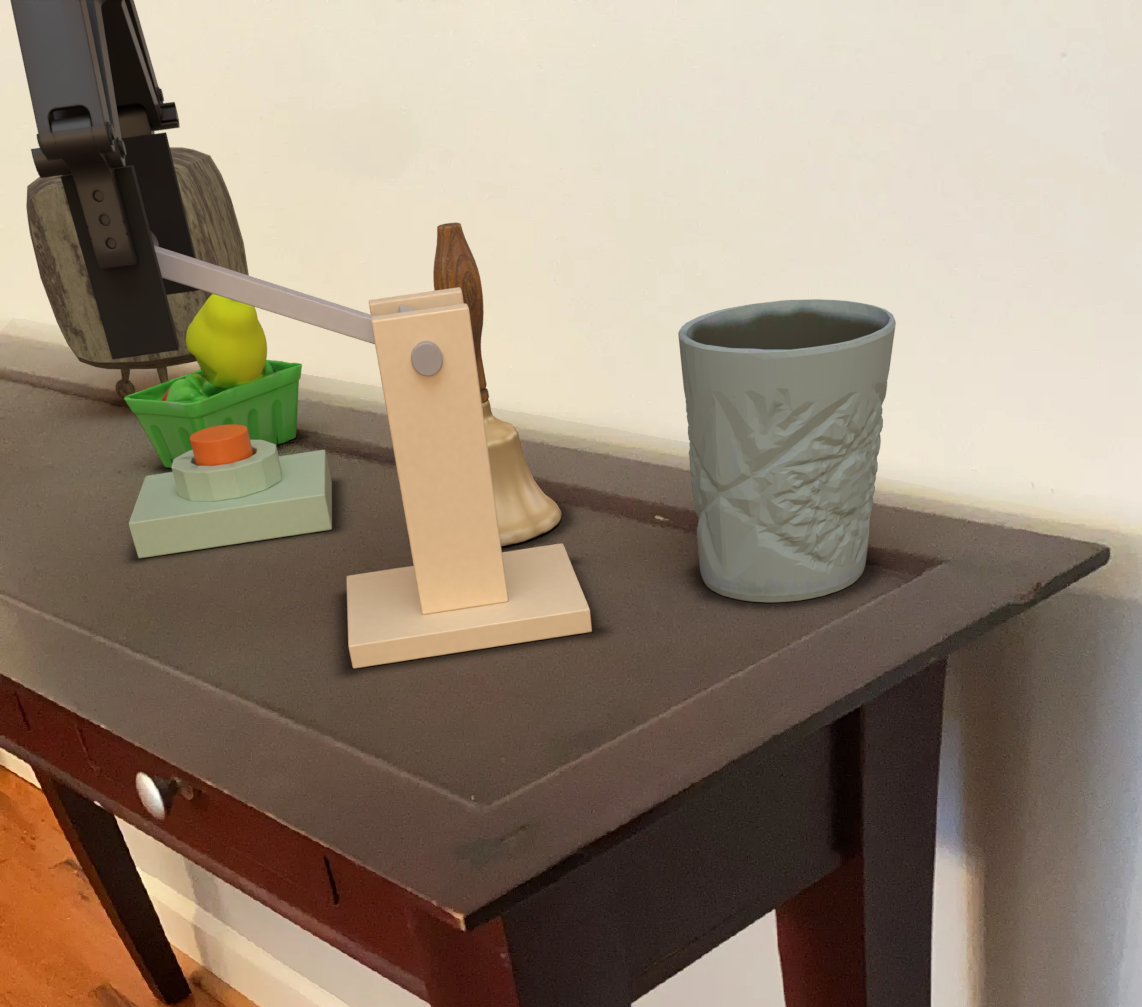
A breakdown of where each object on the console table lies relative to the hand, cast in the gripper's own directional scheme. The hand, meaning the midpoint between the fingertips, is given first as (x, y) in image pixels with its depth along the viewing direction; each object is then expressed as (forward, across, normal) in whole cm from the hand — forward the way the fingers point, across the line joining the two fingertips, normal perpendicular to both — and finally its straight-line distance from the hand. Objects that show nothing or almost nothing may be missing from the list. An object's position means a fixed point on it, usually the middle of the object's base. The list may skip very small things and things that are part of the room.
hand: (162, 321), depth 63 cm
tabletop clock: (+16, +56, +8) cm, 59 cm away
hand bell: (+16, +13, -14) cm, 25 cm away
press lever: (+1, 0, -5) cm, 5 cm away
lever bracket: (+15, 0, -12) cm, 19 cm away
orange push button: (+12, +22, +1) cm, 25 cm away
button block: (+16, +22, +2) cm, 27 cm away
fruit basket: (+16, +38, +2) cm, 41 cm away
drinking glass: (+16, -1, -28) cm, 33 cm away
